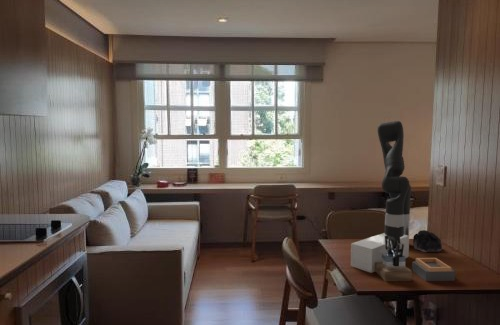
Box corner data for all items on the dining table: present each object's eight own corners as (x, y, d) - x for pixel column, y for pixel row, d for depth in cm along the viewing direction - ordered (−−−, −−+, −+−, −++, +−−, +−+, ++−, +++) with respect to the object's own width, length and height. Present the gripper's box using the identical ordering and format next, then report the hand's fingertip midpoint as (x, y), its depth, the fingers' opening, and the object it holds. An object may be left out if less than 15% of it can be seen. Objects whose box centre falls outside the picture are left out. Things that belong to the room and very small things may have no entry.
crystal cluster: (444, 256, 185) (446, 235, 184) (414, 251, 189) (416, 231, 189) (439, 249, 198) (441, 231, 197) (411, 245, 202) (413, 227, 201)
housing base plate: (381, 264, 159) (381, 257, 159) (399, 264, 159) (400, 257, 159) (386, 269, 154) (386, 261, 154) (405, 268, 154) (405, 261, 154)
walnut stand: (375, 271, 162) (375, 262, 162) (400, 270, 163) (400, 262, 162) (385, 281, 151) (385, 271, 151) (411, 280, 152) (412, 271, 151)
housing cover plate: (381, 257, 159) (381, 253, 159) (400, 257, 159) (400, 253, 159) (386, 261, 154) (386, 257, 154) (405, 261, 154) (405, 256, 154)
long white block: (371, 273, 161) (372, 248, 160) (350, 266, 169) (351, 243, 168) (408, 257, 181) (409, 235, 180) (388, 252, 189) (388, 231, 188)
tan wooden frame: (412, 270, 163) (412, 258, 163) (438, 269, 164) (439, 257, 163) (425, 281, 151) (426, 268, 151) (454, 280, 152) (455, 267, 151)
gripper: (379, 220, 162) (378, 258, 164) (392, 228, 148) (391, 270, 149) (396, 219, 163) (394, 257, 164) (411, 228, 148) (409, 269, 150)
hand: (393, 263), depth 157 cm, fingers closed on housing base plate, housing cover plate, 5 cm apart
